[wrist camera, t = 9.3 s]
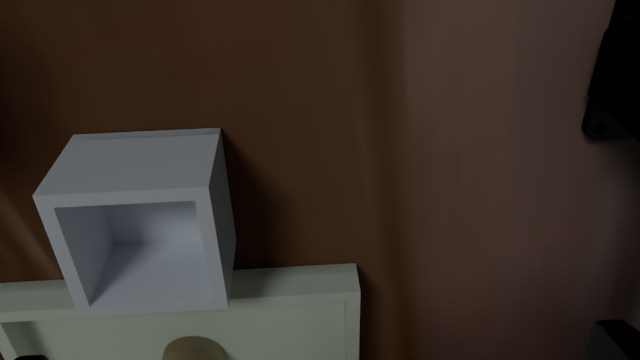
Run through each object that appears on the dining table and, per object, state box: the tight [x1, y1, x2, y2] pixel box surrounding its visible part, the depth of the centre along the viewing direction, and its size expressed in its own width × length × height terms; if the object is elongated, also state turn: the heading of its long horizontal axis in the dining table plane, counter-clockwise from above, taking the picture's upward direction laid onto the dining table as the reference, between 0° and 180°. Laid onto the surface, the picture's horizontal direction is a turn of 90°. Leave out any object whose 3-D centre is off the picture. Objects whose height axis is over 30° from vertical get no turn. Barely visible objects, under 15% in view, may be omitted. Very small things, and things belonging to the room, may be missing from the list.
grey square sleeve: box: [33, 128, 236, 317], centre depth 20 cm, size 6×6×4 cm
